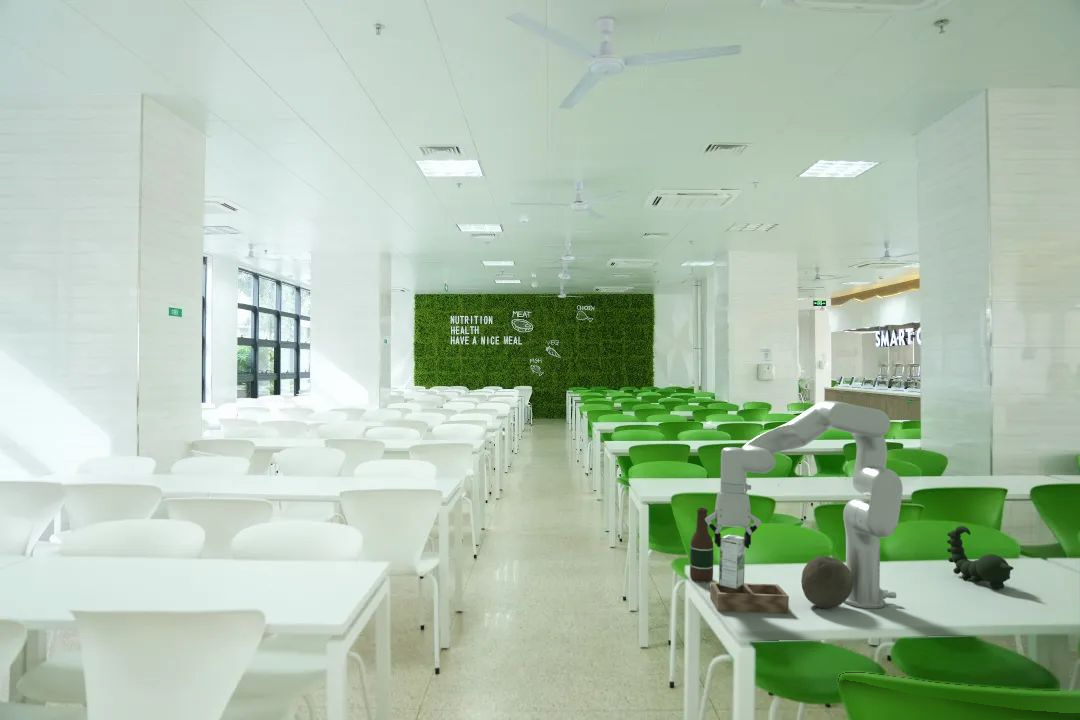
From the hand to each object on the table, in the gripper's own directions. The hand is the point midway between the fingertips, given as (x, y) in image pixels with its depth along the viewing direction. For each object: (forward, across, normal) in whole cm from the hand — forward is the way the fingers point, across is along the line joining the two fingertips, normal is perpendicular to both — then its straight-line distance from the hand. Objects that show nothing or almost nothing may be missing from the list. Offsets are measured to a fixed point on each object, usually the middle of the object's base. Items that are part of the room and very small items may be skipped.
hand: (732, 546), depth 205 cm
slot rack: (+18, -5, 0) cm, 18 cm away
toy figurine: (+18, -90, -31) cm, 97 cm away
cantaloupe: (+18, -28, -1) cm, 34 cm away
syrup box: (+12, 0, 0) cm, 12 cm away
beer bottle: (+18, +4, -25) cm, 31 cm away
